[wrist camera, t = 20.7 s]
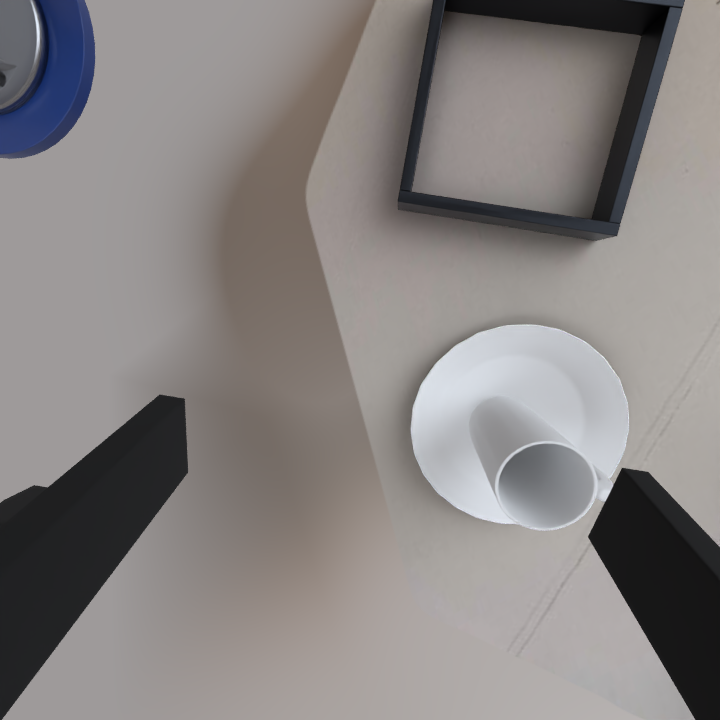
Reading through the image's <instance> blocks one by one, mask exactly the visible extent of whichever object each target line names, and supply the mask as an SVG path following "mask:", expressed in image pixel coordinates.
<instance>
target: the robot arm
mask: <svg viewBox="0 0 720 720" xmlns="http://www.w3.org/2000/svg"><path fill="white" fill-rule="evenodd" d="M48 55H49V35H48V28H47V23H46V19H45V15H44V12H43V9H42V6H41V4H40V2H39V0H0V115H4V114H7V113H10V112H12V111H15V110H16V109H18V108H20V107H21V106H23V105H24V104H25V103H26V102H27V101H28V100H30V98H31V97H32V96H33V95H34V93H35V92H36V91H37V89H38V87H39V85H40V84H41V82H42V79H43V77H44V74H45V71H46V67H47V62H48ZM187 473H188V461H187V440H186V418H185V399H184V398H177V397H171V396H165V395H159V396H157V397H156V398H155V399H154V400H153V401H152V402H150V403H149V404H148V405H147V406H145V407H144V408H143V409H142V410H141V411H139V412H138V413H137V414H136V415H135V416H134V417H132V418H131V419H130V420H129V421H127V422H126V423H125V424H124V425H123V426H121V427H120V428H119V429H118V430H117V431H115V432H114V433H113V434H112V435H111V436H109V437H108V438H107V439H106V440H105V441H103V442H102V443H101V444H100V445H99V446H98V447H96V448H95V449H94V450H92V451H91V452H90V453H89V454H88V455H86V456H85V457H84V458H83V459H82V460H80V461H79V462H78V463H77V464H76V465H74V466H73V467H72V468H71V469H70V470H68V471H67V472H66V473H65V474H64V475H63V476H61V477H60V478H59V479H58V480H56V481H55V482H54V483H53V484H52V485H50V486H49V487H48V488H47V487H41V486H35V485H34V486H32V487H30V488H28V489H26V490H24V491H22V492H20V493H18V494H16V495H14V496H11V497H9V498H7V499H5V500H4V501H2V502H1V503H0V720H2V719H3V717H4V716H5V715H6V713H7V712H8V711H9V709H10V708H11V707H12V705H13V704H14V703H15V701H16V700H17V699H18V697H19V696H20V695H21V693H22V692H23V691H24V689H25V688H26V687H27V685H28V684H29V683H30V681H31V680H32V679H33V677H34V676H35V675H36V673H37V672H38V671H39V670H40V668H41V667H42V666H43V664H44V663H45V661H46V660H47V659H48V658H49V656H50V655H51V654H52V652H53V651H54V650H55V648H56V647H57V646H58V644H59V643H60V642H61V640H62V639H63V638H64V636H65V635H66V634H67V632H68V631H69V630H70V628H71V627H72V626H73V624H74V623H75V622H76V620H77V619H78V618H79V616H80V615H81V614H82V612H83V611H84V609H85V608H86V607H87V605H88V604H89V603H90V602H91V600H92V599H93V598H94V596H95V595H96V594H97V592H98V591H99V590H100V588H101V587H102V586H103V584H104V583H105V582H106V580H107V579H108V578H109V577H110V575H111V574H112V573H113V571H114V570H115V569H116V567H117V566H118V565H119V563H120V562H121V561H122V559H123V558H124V557H125V555H126V554H127V553H128V551H129V550H130V548H131V547H132V546H133V545H134V543H135V542H136V541H137V539H138V538H139V537H140V535H141V534H142V533H143V531H144V530H145V529H146V527H147V526H148V525H149V523H150V522H151V520H152V519H153V518H154V517H155V515H156V514H157V513H158V511H159V510H160V509H161V507H162V506H163V505H164V503H165V502H166V501H167V499H168V498H169V497H170V496H171V494H172V493H173V492H174V490H175V489H176V487H177V486H178V485H179V483H180V482H181V481H182V480H183V478H184V477H185V476H186V474H187ZM588 538H589V539H590V541H591V543H592V545H593V546H594V548H595V550H596V551H597V553H598V555H599V556H600V558H601V560H602V562H603V563H604V565H605V567H606V568H607V570H608V572H609V573H610V575H611V577H612V579H613V580H614V582H615V584H616V585H617V587H618V589H619V590H620V592H621V594H622V596H623V597H624V599H625V601H626V602H627V604H628V606H629V607H630V609H631V611H632V613H633V614H634V616H635V618H636V619H637V621H638V623H639V625H640V626H641V628H642V630H643V631H644V633H645V635H646V636H647V638H648V640H649V642H650V643H651V645H652V647H653V648H654V650H655V652H656V653H657V655H658V657H659V659H660V660H661V662H662V664H663V665H664V667H665V669H666V670H667V672H668V674H669V676H670V677H671V679H672V681H673V682H674V684H675V686H676V687H677V689H678V691H679V693H680V694H681V696H682V698H683V699H684V701H685V703H686V705H687V706H688V708H689V710H690V711H691V713H692V715H693V716H694V718H695V720H720V547H719V546H718V545H717V544H716V543H715V542H714V541H713V540H712V539H711V538H710V536H709V535H708V534H707V533H706V532H705V531H704V530H703V529H702V528H701V527H700V526H699V525H698V524H697V523H696V522H695V521H694V520H693V519H692V518H691V517H690V515H689V514H688V513H687V512H686V511H685V510H684V509H683V508H682V507H681V506H680V505H679V504H678V503H677V502H676V501H675V500H674V499H673V498H672V497H671V496H670V494H669V493H668V492H667V491H666V490H665V489H664V488H663V487H662V486H661V485H660V484H659V483H658V482H657V481H656V480H655V479H654V478H653V477H652V476H651V474H650V473H649V472H645V471H639V470H632V469H626V468H622V469H621V471H620V473H619V475H618V477H617V479H616V481H615V483H614V485H613V487H612V489H611V491H610V493H609V495H608V497H607V499H606V501H605V504H604V506H603V508H602V510H601V512H600V514H599V516H598V518H597V520H596V522H595V524H594V526H593V528H592V530H591V532H590V534H589V536H588Z"/></svg>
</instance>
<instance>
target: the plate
mask: <svg viewBox="0 0 720 720" xmlns="http://www.w3.org/2000/svg"><path fill="white" fill-rule="evenodd" d="M496 396H508V397H512V398H515V399H517V400H519V401H521V402H522V403H523V404H525V405H526V406H527V407H528V408H529V409H531V410H532V411H533V412H535V413H536V414H537V415H538V416H539V417H540V418H542V419H543V420H544V421H545V422H546V423H547V424H549V425H550V426H551V427H552V428H553V429H555V430H556V431H557V432H558V433H559V434H561V435H562V436H563V437H564V438H566V439H567V440H568V441H569V442H570V443H571V444H573V445H574V446H575V447H576V448H577V449H578V450H579V451H581V452H582V453H583V454H584V455H585V456H586V457H587V458H588V459H589V461H590V462H591V463H592V464H593V465H595V466H596V467H597V468H598V469H600V470H601V471H602V472H603V473H604V474H605V475H606V476H607V477H608V478H609V479H610V477H611V476H612V475H613V473H614V471H615V469H616V467H617V465H618V463H619V461H620V460H621V458H622V456H623V454H624V450H625V446H626V441H627V436H628V432H629V415H628V402H627V399H626V396H625V393H624V390H623V387H622V384H621V381H620V379H619V377H618V376H617V375H616V373H615V372H614V370H613V369H612V367H611V366H610V365H609V363H608V362H607V360H606V359H605V358H604V357H603V356H602V355H601V354H600V353H598V352H597V351H596V350H595V349H594V348H592V347H591V346H590V345H589V344H588V343H586V342H585V341H583V340H581V339H579V338H577V337H575V336H573V335H571V334H569V333H567V332H565V331H563V330H560V329H555V328H550V327H545V326H540V325H535V324H524V325H504V326H501V327H497V328H493V329H490V330H486V331H482V332H479V333H477V334H475V335H473V336H471V337H470V338H468V339H466V340H464V341H462V342H460V343H459V344H457V345H455V346H454V347H453V348H452V349H451V350H449V351H448V352H447V353H446V354H445V355H444V356H443V357H442V358H441V359H439V360H438V361H437V362H436V363H435V365H434V366H433V367H432V369H431V370H430V372H429V373H428V375H427V376H426V378H425V379H424V380H423V382H422V383H421V386H420V388H419V391H418V394H417V396H416V399H415V402H414V404H413V409H412V419H411V429H410V431H411V438H412V444H413V451H414V455H415V457H416V459H417V462H418V464H419V466H420V469H421V471H422V473H423V475H424V476H425V478H426V479H427V480H428V482H429V483H430V484H431V485H432V487H433V488H434V489H435V491H436V492H437V493H438V494H439V495H440V496H442V497H443V498H444V499H445V500H447V501H448V502H449V503H450V504H452V505H453V506H454V507H455V508H457V509H459V510H461V511H463V512H466V513H468V514H470V515H472V516H474V517H476V518H478V519H483V520H487V521H491V522H496V523H500V524H517V523H516V522H514V521H513V520H511V519H510V518H509V517H508V516H507V515H506V514H505V513H504V512H503V510H502V509H501V507H500V506H499V504H498V502H497V499H496V496H495V494H494V492H493V490H492V488H491V485H490V483H489V481H488V478H487V476H486V473H485V471H484V469H483V466H482V464H481V461H480V459H479V457H478V454H477V452H476V450H475V447H474V445H473V442H472V439H471V437H470V433H469V420H470V417H471V415H472V413H473V411H474V410H475V408H476V407H477V406H478V405H479V404H480V403H482V402H483V401H485V400H487V399H489V398H492V397H496Z"/></svg>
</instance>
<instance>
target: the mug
mask: <svg viewBox="0 0 720 720" xmlns="http://www.w3.org/2000/svg"><path fill="white" fill-rule="evenodd" d="M469 433H470V437H471V439H472V442H473V445H474V447H475V450H476V452H477V454H478V457H479V459H480V461H481V464H482V466H483V469H484V471H485V473H486V476H487V478H488V481H489V483H490V485H491V488H492V490H493V492H494V494H495V496H496V499H497V502H498V504H499V506H500V507H501V509H502V510H503V512H504V513H505V514H506V515H507V516H508V517H509V518H510V519H511V520H513V521H514V522H516V523H517V524H519V525H521V526H523V527H526V528H529V529H533V530H541V531H548V530H556V529H560V528H564V527H566V526H569V525H571V524H573V523H574V522H576V521H577V520H579V519H580V518H581V517H583V516H584V515H585V514H586V513H587V511H588V510H589V509H590V507H591V506H592V504H593V502H594V500H595V498H597V499H598V500H601V501H604V502H605V501H606V499H607V497H608V495H609V493H610V491H611V489H612V487H613V483H612V482H611V480H610V479H609V478H608V477H607V476H606V475H605V474H604V473H603V472H602V471H601V470H600V469H598V468H597V467H596V466H595V465H593V464H592V463H591V462H590V461H589V459H588V458H587V457H586V456H585V455H584V454H583V453H582V452H581V451H579V450H578V449H577V448H576V447H575V446H574V445H573V444H571V443H570V442H569V441H568V440H567V439H566V438H564V437H563V436H562V435H561V434H559V433H558V432H557V431H556V430H555V429H553V428H552V427H551V426H550V425H549V424H547V423H546V422H545V421H544V420H543V419H542V418H540V417H539V416H538V415H537V414H536V413H535V412H533V411H532V410H531V409H529V408H528V407H527V406H526V405H525V404H523V403H522V402H521V401H519V400H517V399H515V398H512V397H508V396H496V397H492V398H489V399H487V400H485V401H483V402H482V403H480V404H479V405H478V406H477V407H476V408H475V410H474V411H473V413H472V415H471V417H470V420H469Z"/></svg>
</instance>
